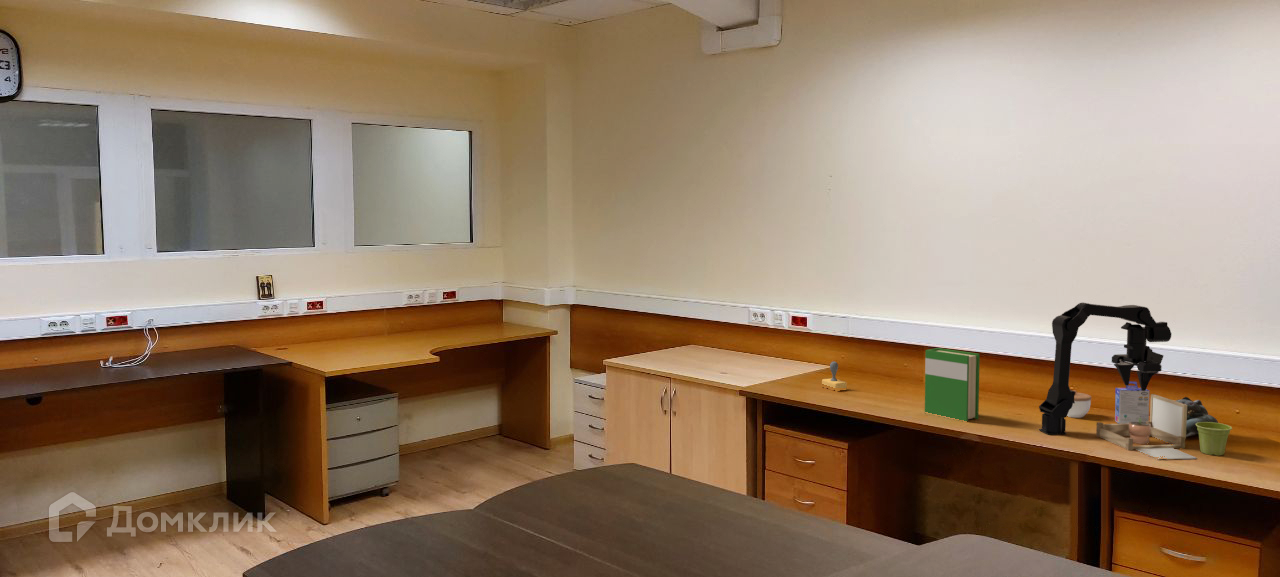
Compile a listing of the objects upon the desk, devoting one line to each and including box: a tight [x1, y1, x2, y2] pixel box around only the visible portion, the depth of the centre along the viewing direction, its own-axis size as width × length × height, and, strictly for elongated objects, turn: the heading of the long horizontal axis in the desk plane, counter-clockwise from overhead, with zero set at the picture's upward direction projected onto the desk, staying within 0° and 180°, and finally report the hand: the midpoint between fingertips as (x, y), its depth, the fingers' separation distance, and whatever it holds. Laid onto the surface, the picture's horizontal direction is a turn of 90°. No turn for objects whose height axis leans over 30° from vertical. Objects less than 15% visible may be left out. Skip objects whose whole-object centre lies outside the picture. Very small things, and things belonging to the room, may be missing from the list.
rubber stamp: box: [821, 361, 847, 389], centre depth 372 cm, size 10×6×12 cm, turn 25°
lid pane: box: [1149, 393, 1187, 440], centre depth 282 cm, size 1×16×11 cm, turn 3°
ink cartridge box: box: [1114, 381, 1151, 424], centre depth 306 cm, size 10×6×14 cm, turn 78°
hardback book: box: [924, 347, 981, 422], centre depth 320 cm, size 18×7×24 cm, turn 35°
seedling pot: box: [1129, 418, 1151, 445], centre depth 282 cm, size 6×6×8 cm
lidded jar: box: [1067, 390, 1092, 419], centre depth 318 cm, size 11×11×9 cm
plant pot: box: [1196, 422, 1233, 456], centre depth 268 cm, size 9×9×9 cm
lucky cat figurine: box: [1175, 396, 1219, 438], centre depth 290 cm, size 15×12×14 cm
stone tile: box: [1135, 448, 1198, 460], centre depth 267 cm, size 12×11×1 cm
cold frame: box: [1095, 420, 1186, 451], centre depth 282 cm, size 18×17×5 cm
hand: (1135, 387), depth 295 cm, fingers open, 9 cm apart
